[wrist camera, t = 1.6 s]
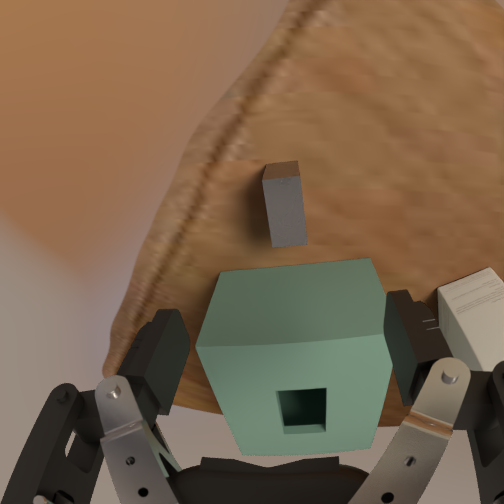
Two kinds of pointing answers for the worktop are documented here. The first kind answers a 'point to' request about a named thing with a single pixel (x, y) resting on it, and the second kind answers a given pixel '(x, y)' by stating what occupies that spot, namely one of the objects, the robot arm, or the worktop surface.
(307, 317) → the money box
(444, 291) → the supplement box
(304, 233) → the block
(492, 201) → the worktop surface
